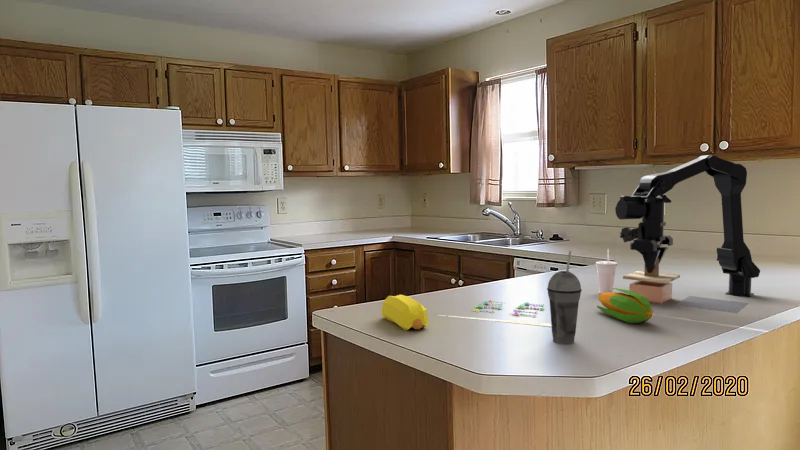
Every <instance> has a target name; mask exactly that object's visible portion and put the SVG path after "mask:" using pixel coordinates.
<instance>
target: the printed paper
mask: <svg viewBox="0 0 800 450" xmlns="http://www.w3.org/2000/svg"><path fill="white" fill-rule="evenodd" d="M488 305H493V306H488ZM494 305H495V306H494ZM501 305H502V306H503V305H504V303H503V302H502V301H501V302H500V301H497V303H496V301H492V300H485V301H484V302H482V304H477V305H476V306H473V307H472V308H470V311H471V312H476V313H479V312H482V313H491V314H493V313H494V314H495V310H503V309H504V307H502V306H501ZM529 305H530V306H531V307H529ZM497 306H498V307H497ZM532 306H534V307H532ZM535 306H539V307H535ZM540 306H542V307H540ZM543 306H544V304H542V303H541V304H539V303H538V304H535V303H534V304H533V303H529V302H524V303H522V304H520V305H518V306H516V307H513V308H514V309H513V312H514V313H512V316H517V317H518V316H519V315H520V316H525V317H526V316H527V317H537V315H536V314H538V311H537V310H539V311H540V312H541V311H545V310H547V309H546V308H544V307H543ZM475 308H476V309H475ZM482 308H486V309H487V308H488V309H492V310H491V311H490V310H481V309H482ZM479 309H480V310H479ZM494 309H495V310H494ZM517 309H518V310H517ZM520 309H521V310H520ZM523 309H525V310H527V309H528V310H529V309H530V310H532V309H533V310H536V311H535V312H533V311H529V312H528V311H522V310H523ZM524 313H528V314H524ZM508 314H509V315H511V313H508ZM532 314H534V315H532ZM439 316H441V317H446V315H442V314H439ZM449 317H453V318H461V319H462V318H463V319H470V320H471V319H472V320H473V319H474V320H480V321H481V320H483V321H490V322H491V321H492V322H500V323H501V322H502V323H511V324H519V325H520V324H521V325H528V326H529V325H532V326H542V327H551V328H552V326H551V323H549V322H537V321H526V320H525V321H523V320H510V319H508V320H507V319H498V318H497V319H495V318H486V317H483V318H481V317H471V316H469V317H468V316H457V315H449Z"/></svg>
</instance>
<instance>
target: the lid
mask: <svg viewBox="0 0 800 450" xmlns="http://www.w3.org/2000/svg"><path fill="white" fill-rule="evenodd" d="M659 267H660V263H659V258H657V261H656V263H655V266H654V269H653V271H652V273H648V272H647V269H646V265H645V264H644V270H636V271H633V272H630V273H628V274H625V275H623V276H622V279H623V280H631V281H638V280H639V281H648V282H657V283H666V284H667V283H672V282H673V281H675V280H677V279H680V278H681V275H680V274H675V273H674V274H673V273H663V272H660V268H659Z"/></svg>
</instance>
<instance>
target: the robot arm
mask: <svg viewBox="0 0 800 450" xmlns="http://www.w3.org/2000/svg"><path fill="white" fill-rule="evenodd" d="M702 173H705V174H706V175H708V176H709V177H712V178H713V182H714V186H715V188H716V189H717V191H718V192H719V193H720V196H721V209H722V211H721V212H722V224H723V228H722V229H723V243H722V245H721V247H716V254H717V257H716V261H718V264H719V266H720V267H721V271H722V273H723V274H726V275H727V274H728V275H729V276H728V290H727V292H726V293H724V295H728V296H737V297H745V298H750V297H752V296H754V295H755V293H754V292H752V279H755V278H759V276H760V274H761V270H760V268H759V267H758V266H757V265H756V264H755V263H754V261H753V258H752V253H751V250H750V249H749V247H748V245H747V244H746V243H745V240H744V226H743V225H744V224H743V212H742V211H743V207H742V192H743V190H744V189H745V187H746V184H747V176H748V170H747V168H746V166H744V165H743V164H741V163H735V162H734V161H733V162H732V161H730V160H729V161H728V160H726V159H722V158H720V157H718V156H717V155H713V154H706V155H700V156H699V157H697V158H695V159H693V160H690V161H687V162H686V163H683V164H681V165H678V166H677V167H674V168H671V169H670V170H666V171H663V172H658V173H652V174H647V175H644V176H642V177H641V178H639V179H640V181H639V182H638V183H639V184H638V185H637V187H636V188H635V190H634V191H633V193H632V194H631V196H629V195H620V196H619V200H618V202H617V203H616V206H615V211H614V212H615V215H616V217H617V219H618V220H621V221H623V220H640V219H641V221H640V222H638V226H637V227H635V228H630V227H629V226H626V227H623V228H621V231H620V232H619V234H620V235H619V238H621V239H622V241H623V243H624V244H625V243H627V242H630V243H629V246H630V247H629V249H630V250H631V251H636V252H638V253H639V254H640V255H642V258H643V261H644V266H645V265H646V269H647V272H648V273H652V271H653V269H654V266H655V263H656V261H657V258H659V264H660V263H661V262H662V259H663V258H664V256H665V253H666V252H667V250H668V249H669V246H673V245H674V239H673V237H672V236H671V235H666V234H665V235H664V227H665V226H666V225H667V222H666V221H665V220H664V219H665V204H670V203H672V200H671V199H670V198H669V197H667V195H666V193H668V192H670V191H671V190H673V189H674V187H675V185H677V184H678V183H681V182H683V181H686V180H687V179H690V178H692V177H695V176H698V175H699V174H702ZM663 245H665V246H663ZM666 245H667V246H668V247H666Z"/></svg>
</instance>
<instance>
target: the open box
mask: <svg viewBox="0 0 800 450" xmlns="http://www.w3.org/2000/svg"><path fill="white" fill-rule="evenodd" d="M628 290H629V291H633V292H636V293H638V294H640V295H642V296H644V297H646V298H647V299H648V301H649V303H654V304H661V305H662V304H663V305H664V303H666V302H668V301H670V300H672V299H673V283H672V282H669V283H667V284H666V283H657V282H648V281H639V280H635V281H633V282H632V283H629V289H628Z"/></svg>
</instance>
